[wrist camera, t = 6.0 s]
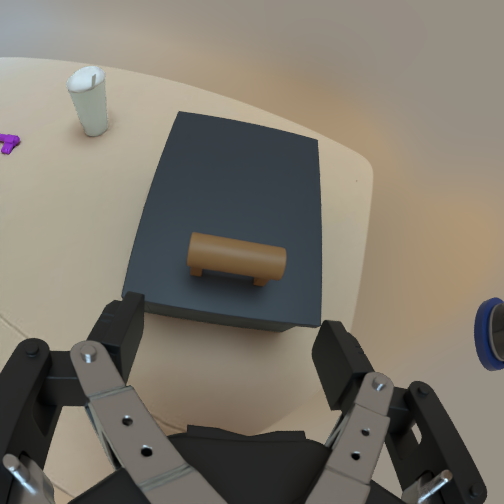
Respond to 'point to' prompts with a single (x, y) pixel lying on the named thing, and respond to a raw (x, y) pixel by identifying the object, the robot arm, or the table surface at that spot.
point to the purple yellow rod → (8, 142)
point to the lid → (232, 224)
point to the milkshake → (89, 99)
